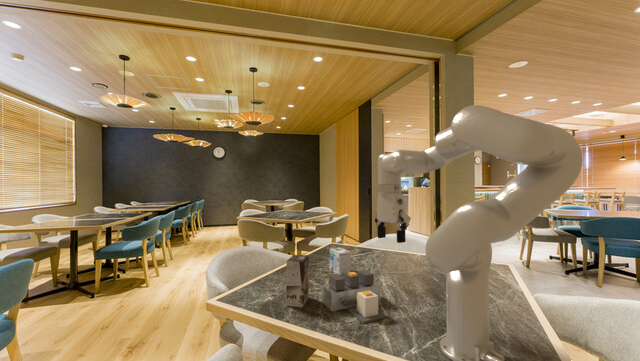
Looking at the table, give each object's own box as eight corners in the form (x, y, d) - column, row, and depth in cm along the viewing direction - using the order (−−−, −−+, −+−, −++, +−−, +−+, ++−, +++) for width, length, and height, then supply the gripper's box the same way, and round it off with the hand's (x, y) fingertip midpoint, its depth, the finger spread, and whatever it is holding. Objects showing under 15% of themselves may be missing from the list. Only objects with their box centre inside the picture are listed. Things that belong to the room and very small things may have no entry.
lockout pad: (386, 317, 86) (386, 315, 86) (363, 323, 82) (363, 321, 82) (371, 306, 94) (370, 304, 94) (348, 310, 91) (348, 309, 91)
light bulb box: (329, 269, 135) (329, 248, 136) (340, 267, 138) (340, 246, 139) (339, 276, 126) (339, 253, 126) (351, 274, 129) (351, 251, 129)
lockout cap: (378, 314, 87) (378, 294, 87) (365, 317, 85) (365, 296, 85) (369, 307, 92) (369, 288, 92) (356, 310, 90) (356, 290, 90)
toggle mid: (359, 285, 96) (359, 273, 97) (350, 287, 95) (350, 275, 95) (350, 280, 102) (350, 268, 102) (342, 281, 101) (342, 270, 101)
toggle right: (373, 284, 98) (373, 274, 98) (365, 285, 97) (365, 275, 97) (364, 278, 104) (364, 269, 104) (356, 280, 102) (356, 270, 103)
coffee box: (303, 307, 93) (303, 261, 93) (285, 306, 94) (285, 260, 95) (309, 297, 102) (309, 254, 102) (293, 295, 103) (293, 254, 104)
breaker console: (381, 301, 98) (381, 285, 98) (332, 312, 90) (332, 294, 90) (368, 293, 106) (368, 277, 106) (322, 301, 98) (322, 285, 98)
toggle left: (345, 289, 94) (345, 278, 94) (336, 290, 92) (336, 280, 92) (337, 283, 99) (337, 273, 99) (328, 284, 98) (328, 274, 98)
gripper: (417, 189, 85) (418, 243, 85) (381, 189, 101) (383, 235, 100) (399, 189, 82) (400, 245, 81) (365, 190, 97) (366, 237, 97)
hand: (390, 239), depth 91 cm, fingers open, 9 cm apart
